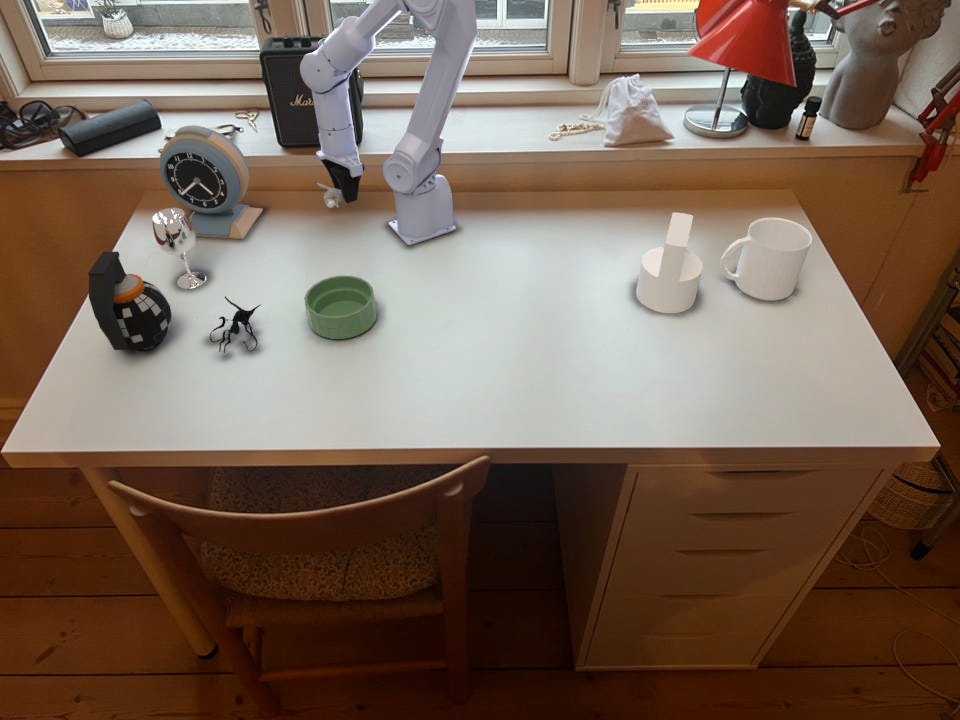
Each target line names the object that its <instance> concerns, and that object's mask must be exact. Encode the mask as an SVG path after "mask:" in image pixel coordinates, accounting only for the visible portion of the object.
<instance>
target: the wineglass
mask: <svg viewBox="0 0 960 720" xmlns="http://www.w3.org/2000/svg"><path fill="white" fill-rule="evenodd" d="M151 220H152V231H153V236H154V239H155V242H156V244H157V246H158V247H159V248H160V249H161V250H162V251H163V252H164V253H166V254H168V255H173V256H179V259H180V261H181V263H182V264H183V265H184V268H185V270H186V273H184V274H183V275H181V276H180V277H179V278H178V279H177V281H176V282H177V285H178V287H179V288H181V289H184V290H191V289H196V288H199V287H200V286H202V285H203V284H204V283H205V282H206V281H207V276H206V274H204V273H203V272H200V271H191V270H190V266H189V264H188V256H187V253H188V252H190V251H191V250H192V249H194V247H195V245H196V243H197V236H196V233H195V229H194V227H193V225H192V223H191V221H190V219H189V216H188V215H187V213H186V212H185V210H183V209H182V208H179V207H168V208H163V209H161V210H159V211H157V212H156V213H155V214H153V216H152V218H151Z"/></svg>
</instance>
